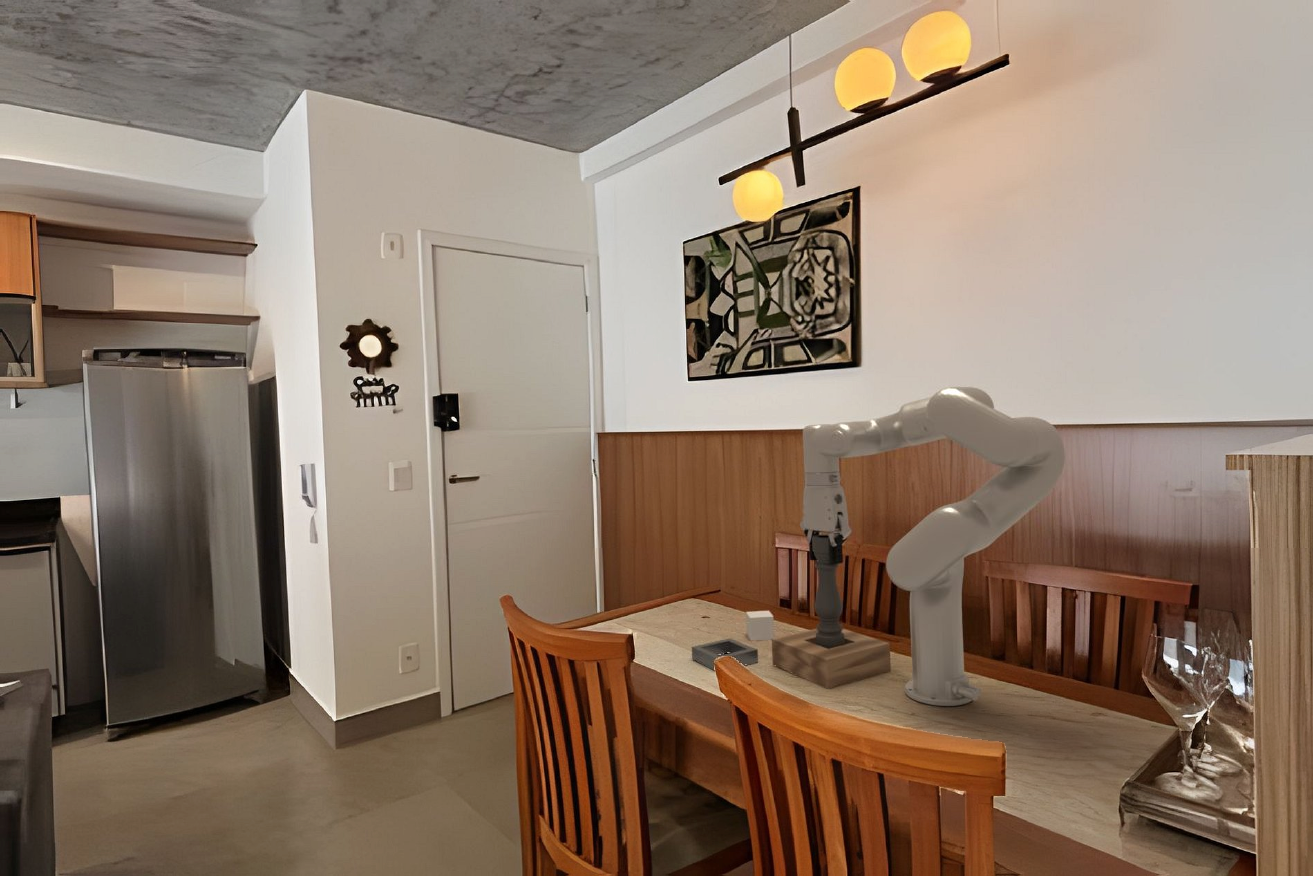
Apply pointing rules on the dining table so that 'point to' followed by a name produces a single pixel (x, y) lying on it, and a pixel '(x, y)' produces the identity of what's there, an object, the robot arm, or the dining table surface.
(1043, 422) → the robot arm
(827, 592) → the candle holder
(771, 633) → the white cube
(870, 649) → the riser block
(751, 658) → the metal collar
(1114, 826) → the dining table surface
